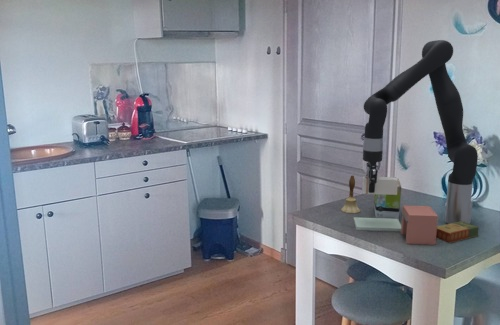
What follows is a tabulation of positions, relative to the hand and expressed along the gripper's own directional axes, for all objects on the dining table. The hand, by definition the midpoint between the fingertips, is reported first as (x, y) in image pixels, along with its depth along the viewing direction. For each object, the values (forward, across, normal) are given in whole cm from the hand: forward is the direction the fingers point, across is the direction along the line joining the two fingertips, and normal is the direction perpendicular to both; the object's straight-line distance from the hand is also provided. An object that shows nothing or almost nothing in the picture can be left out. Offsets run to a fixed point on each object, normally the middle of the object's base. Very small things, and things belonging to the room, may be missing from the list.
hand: (370, 190), depth 202 cm
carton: (+15, -9, -31) cm, 36 cm away
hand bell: (+15, +19, +6) cm, 25 cm away
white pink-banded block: (+1, 0, -3) cm, 3 cm away
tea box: (+15, +16, -10) cm, 24 cm away
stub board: (+15, 0, -4) cm, 15 cm away
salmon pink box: (+15, -13, -16) cm, 26 cm away
